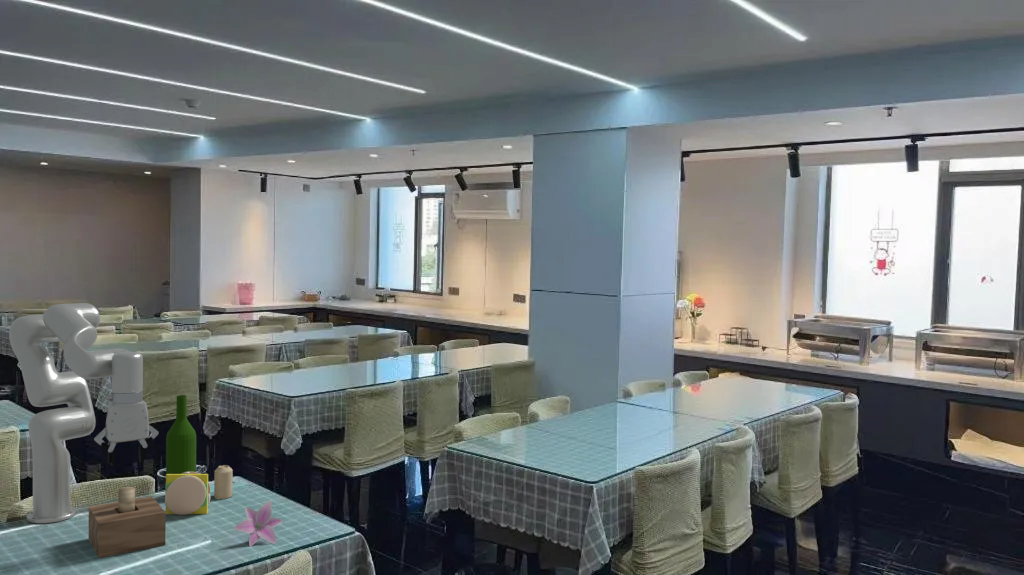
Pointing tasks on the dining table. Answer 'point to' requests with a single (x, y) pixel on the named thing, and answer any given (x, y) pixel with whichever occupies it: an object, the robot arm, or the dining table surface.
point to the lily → (259, 524)
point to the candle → (223, 482)
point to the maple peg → (126, 500)
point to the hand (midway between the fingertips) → (127, 463)
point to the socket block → (126, 527)
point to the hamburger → (187, 493)
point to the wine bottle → (181, 442)
